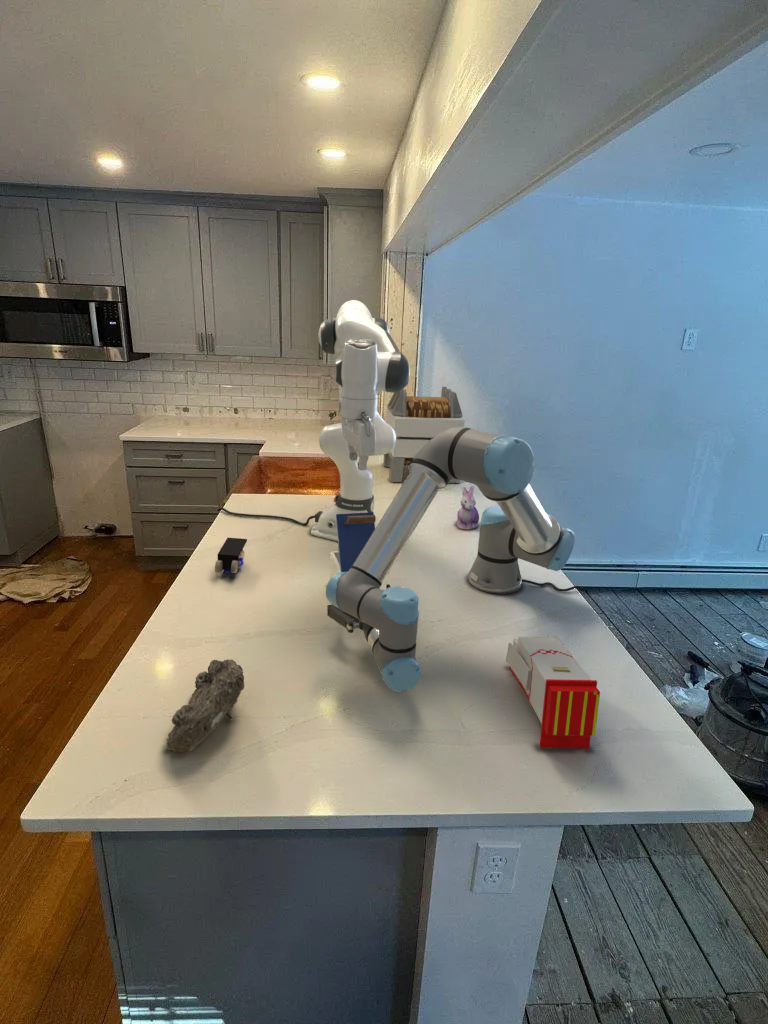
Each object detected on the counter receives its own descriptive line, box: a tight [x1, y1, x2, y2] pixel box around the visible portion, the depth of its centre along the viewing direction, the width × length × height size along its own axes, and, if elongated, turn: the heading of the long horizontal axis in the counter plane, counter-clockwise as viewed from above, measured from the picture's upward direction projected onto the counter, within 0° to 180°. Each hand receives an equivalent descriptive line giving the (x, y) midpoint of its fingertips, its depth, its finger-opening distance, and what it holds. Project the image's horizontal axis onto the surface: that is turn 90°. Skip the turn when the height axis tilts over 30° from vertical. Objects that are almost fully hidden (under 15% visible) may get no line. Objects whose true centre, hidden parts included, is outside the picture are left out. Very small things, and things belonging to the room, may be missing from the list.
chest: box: [329, 550, 348, 580], centre depth 154 cm, size 14×10×11 cm
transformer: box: [383, 386, 465, 484], centre depth 268 cm, size 34×33×41 cm
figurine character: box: [214, 537, 248, 578], centre depth 166 cm, size 7×8×15 cm
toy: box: [505, 636, 601, 749], centre depth 115 cm, size 12×13×30 cm
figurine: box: [456, 485, 480, 530], centre depth 208 cm, size 9×10×15 cm
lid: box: [336, 511, 377, 572], centre depth 143 cm, size 15×10×8 cm
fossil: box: [166, 658, 245, 754], centre depth 106 cm, size 22×10×15 cm
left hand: (357, 464), depth 141 cm, fingers open, 8 cm apart
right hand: (361, 591), depth 143 cm, fingers open, 13 cm apart
